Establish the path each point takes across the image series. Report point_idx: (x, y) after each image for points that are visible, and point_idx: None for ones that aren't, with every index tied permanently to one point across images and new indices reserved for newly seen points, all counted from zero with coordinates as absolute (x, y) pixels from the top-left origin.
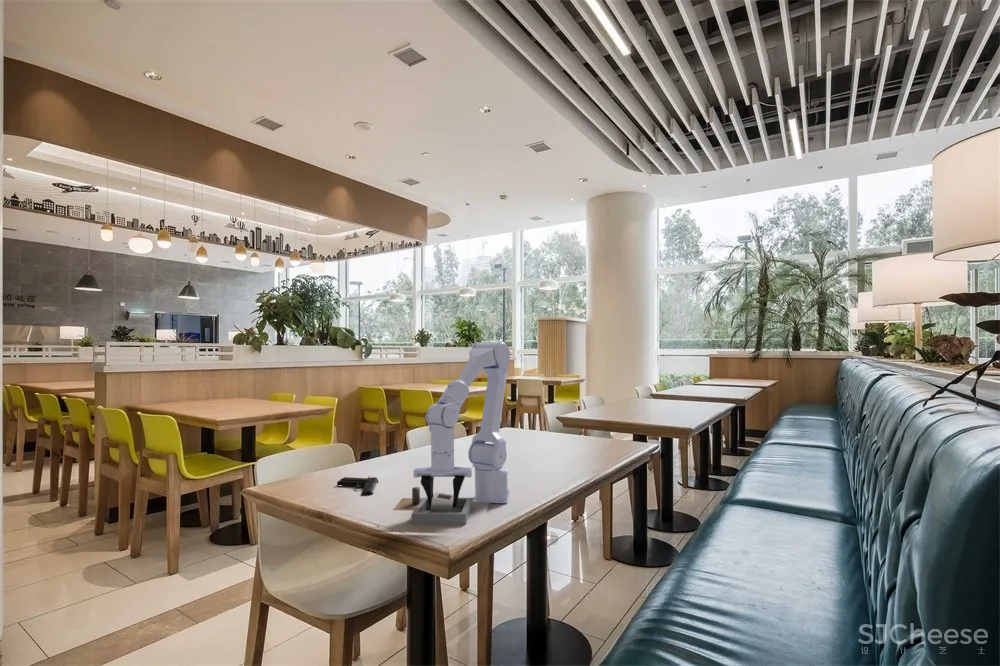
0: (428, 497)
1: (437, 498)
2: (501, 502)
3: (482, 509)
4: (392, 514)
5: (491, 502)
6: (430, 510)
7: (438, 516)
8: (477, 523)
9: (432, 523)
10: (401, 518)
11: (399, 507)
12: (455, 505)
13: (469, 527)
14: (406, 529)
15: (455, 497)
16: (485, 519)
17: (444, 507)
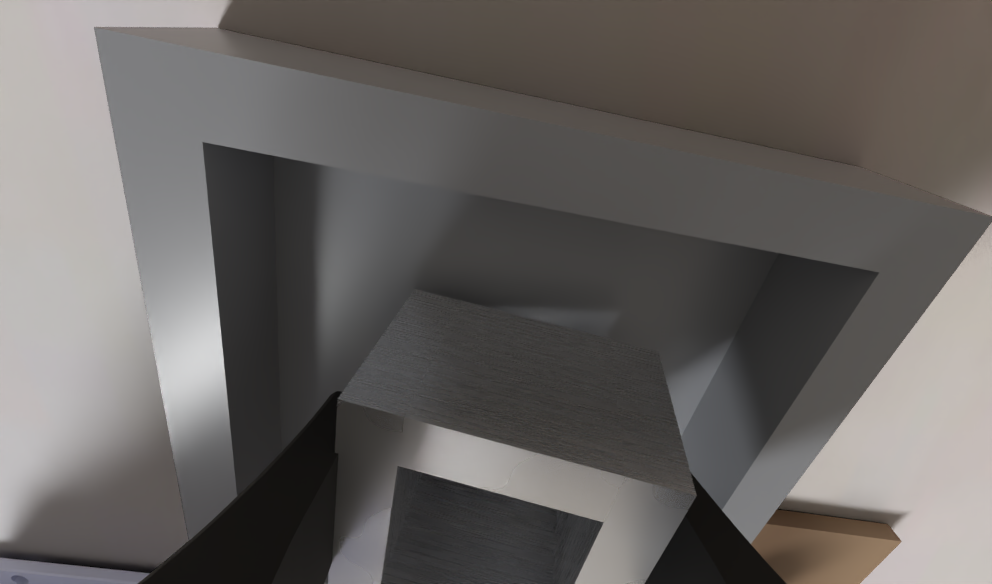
0: (736, 541)
1: (598, 493)
2: (22, 565)
3: (160, 482)
4: (906, 489)
5: (107, 573)
6: (660, 367)
7: (583, 125)
8: (99, 139)
9: (645, 124)
10: (871, 404)
11: (832, 572)
12: (332, 402)
13: (165, 4)
14: (946, 92)
15: (283, 484)
16: (45, 249)
17: (483, 362)
